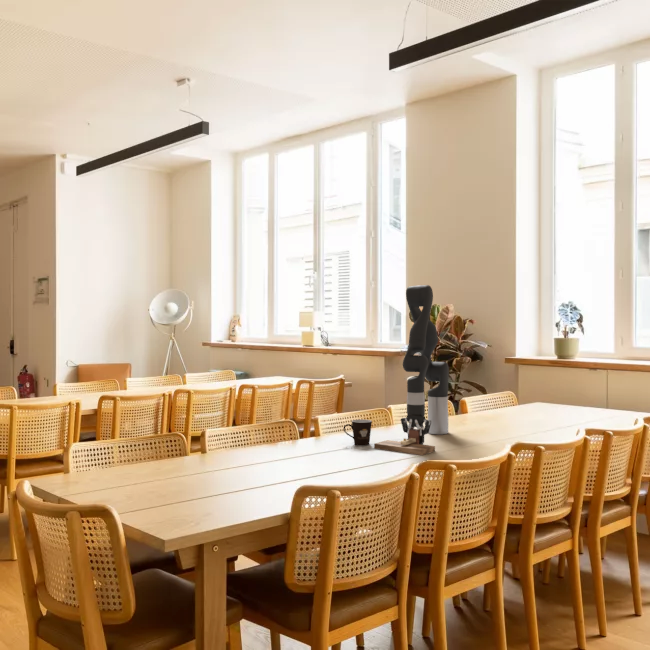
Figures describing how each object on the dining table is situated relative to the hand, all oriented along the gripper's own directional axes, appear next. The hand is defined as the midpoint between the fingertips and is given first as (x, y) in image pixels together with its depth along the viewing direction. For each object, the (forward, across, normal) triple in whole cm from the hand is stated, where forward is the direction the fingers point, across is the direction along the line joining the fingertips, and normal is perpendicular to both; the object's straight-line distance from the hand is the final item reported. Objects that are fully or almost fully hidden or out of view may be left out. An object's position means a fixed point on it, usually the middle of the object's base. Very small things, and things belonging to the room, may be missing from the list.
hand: (416, 443), depth 300 cm
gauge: (+1, 0, +4) cm, 4 cm away
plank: (+2, +1, +8) cm, 8 cm away
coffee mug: (+2, +24, +8) cm, 25 cm away
